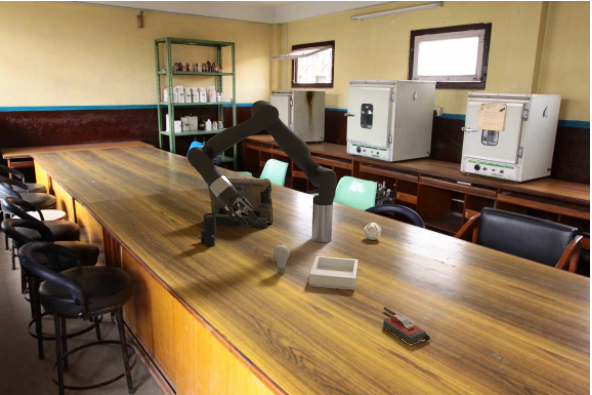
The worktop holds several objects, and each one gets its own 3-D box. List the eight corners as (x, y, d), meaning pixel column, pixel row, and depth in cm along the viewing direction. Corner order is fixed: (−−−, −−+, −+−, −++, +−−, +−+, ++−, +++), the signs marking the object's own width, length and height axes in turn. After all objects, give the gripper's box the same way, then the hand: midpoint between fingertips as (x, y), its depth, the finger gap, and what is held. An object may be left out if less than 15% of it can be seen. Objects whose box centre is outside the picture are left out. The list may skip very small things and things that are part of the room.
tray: (316, 266, 177) (316, 255, 176) (357, 270, 174) (358, 259, 173) (309, 285, 160) (309, 274, 159) (354, 290, 157) (355, 278, 156)
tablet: (274, 221, 235) (275, 173, 229) (270, 229, 222) (271, 179, 216) (213, 218, 238) (212, 171, 232) (205, 225, 225) (204, 176, 219)
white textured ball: (361, 240, 209) (362, 224, 207) (366, 235, 216) (367, 220, 214) (377, 243, 206) (379, 226, 204) (382, 238, 212) (384, 222, 210)
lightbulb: (275, 276, 167) (275, 248, 164) (271, 270, 172) (271, 242, 170) (291, 275, 168) (291, 247, 166) (287, 269, 174) (287, 241, 171)
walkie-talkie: (435, 340, 127) (386, 311, 144) (436, 326, 126) (387, 298, 143) (412, 349, 123) (365, 317, 139) (414, 334, 122) (365, 304, 138)
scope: (214, 210, 201) (222, 215, 193) (214, 239, 205) (222, 246, 196) (196, 212, 197) (203, 218, 189) (196, 242, 201) (204, 249, 192)
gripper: (221, 188, 164) (249, 222, 163) (239, 181, 177) (265, 213, 176) (208, 200, 167) (236, 234, 166) (227, 193, 180) (253, 224, 179)
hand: (251, 223), depth 171 cm, fingers open, 8 cm apart
